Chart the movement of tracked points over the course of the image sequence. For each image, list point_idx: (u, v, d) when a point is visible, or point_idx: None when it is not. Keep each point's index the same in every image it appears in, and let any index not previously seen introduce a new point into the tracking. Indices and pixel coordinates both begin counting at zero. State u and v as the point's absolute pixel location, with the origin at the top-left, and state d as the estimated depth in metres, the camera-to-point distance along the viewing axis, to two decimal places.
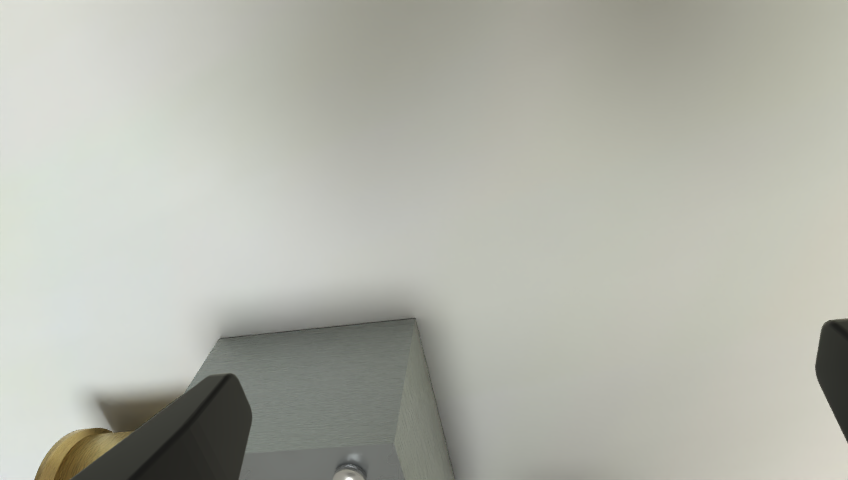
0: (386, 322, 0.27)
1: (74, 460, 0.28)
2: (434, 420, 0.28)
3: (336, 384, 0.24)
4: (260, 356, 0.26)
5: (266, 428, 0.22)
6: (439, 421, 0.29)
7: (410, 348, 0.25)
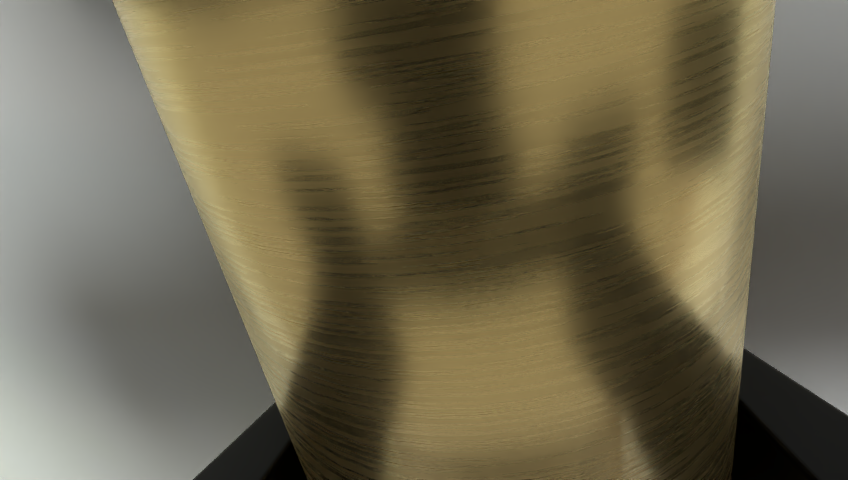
0: None
1: None
2: None
3: None
4: None
5: None
6: None
7: None
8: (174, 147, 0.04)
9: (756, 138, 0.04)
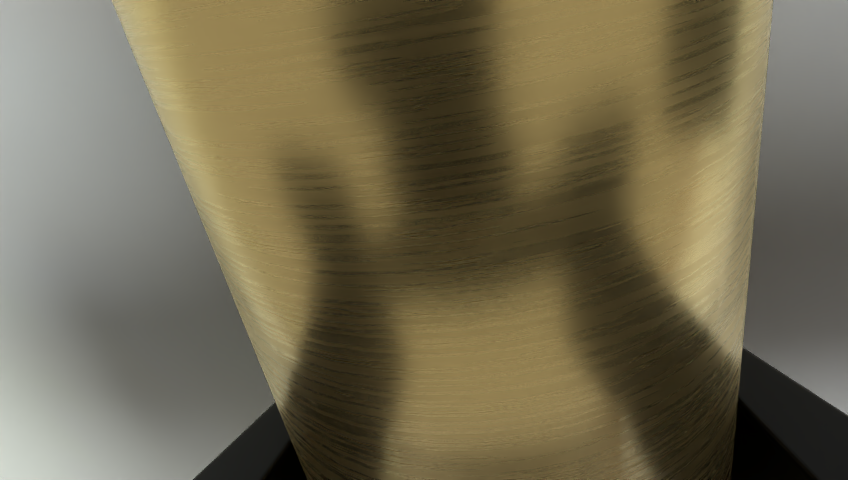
0: None
1: None
2: None
3: None
4: None
5: None
6: None
7: None
8: (173, 146, 0.04)
9: (756, 136, 0.04)
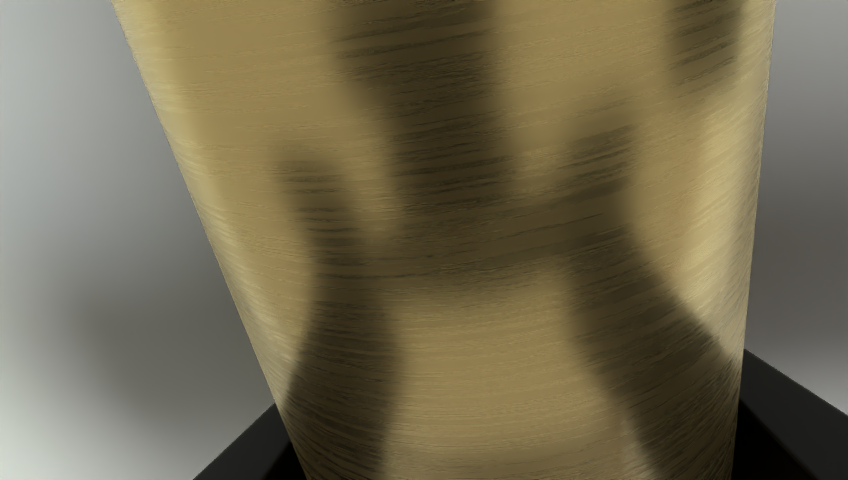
0: None
1: None
2: None
3: None
4: None
5: None
6: None
7: None
8: (173, 148, 0.04)
9: (758, 140, 0.04)
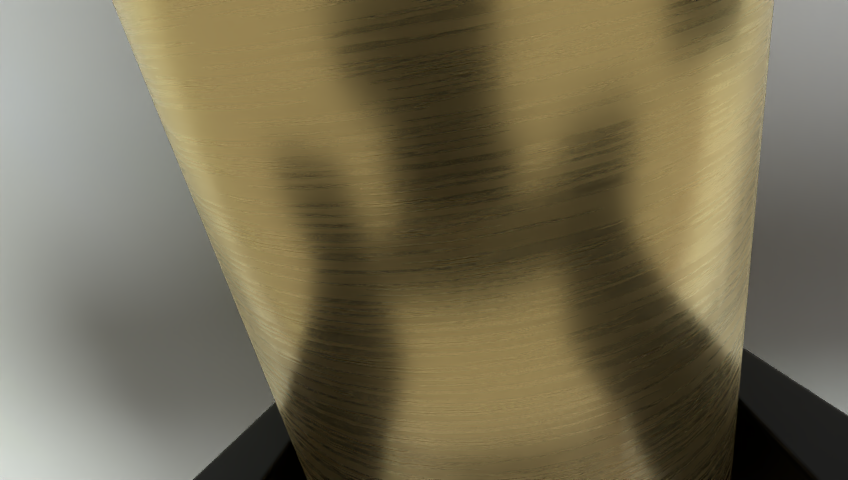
0: None
1: None
2: None
3: None
4: None
5: None
6: None
7: None
8: (173, 145, 0.04)
9: (756, 136, 0.04)
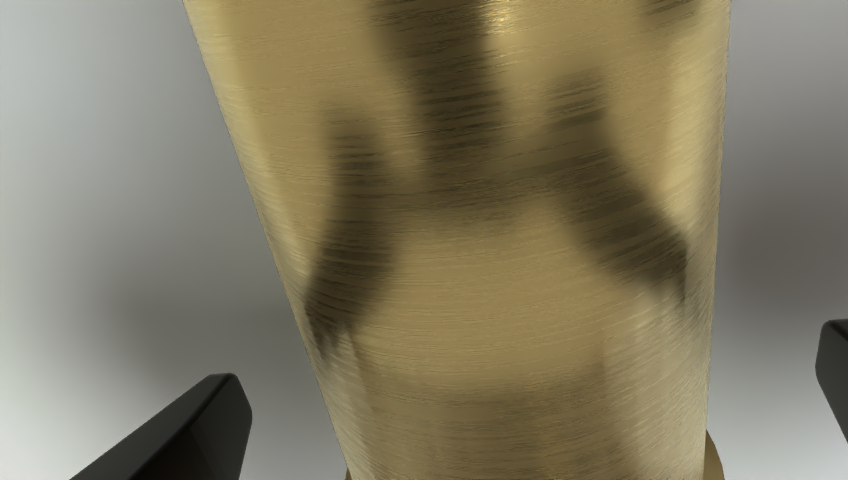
0: None
1: None
2: None
3: None
4: None
5: None
6: None
7: None
8: (222, 97, 0.05)
9: (718, 87, 0.05)
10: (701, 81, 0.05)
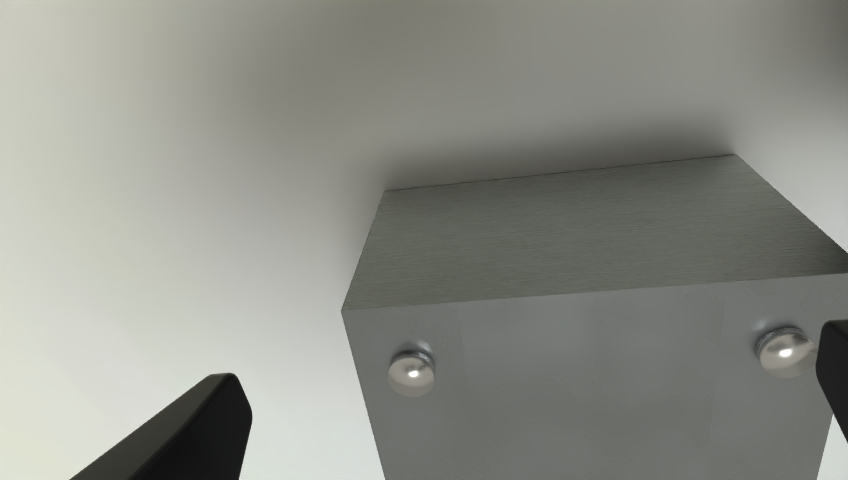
0: None
1: None
2: (537, 188, 0.19)
3: None
4: None
5: None
6: (566, 174, 0.20)
7: (377, 216, 0.19)
8: None
9: None
10: None
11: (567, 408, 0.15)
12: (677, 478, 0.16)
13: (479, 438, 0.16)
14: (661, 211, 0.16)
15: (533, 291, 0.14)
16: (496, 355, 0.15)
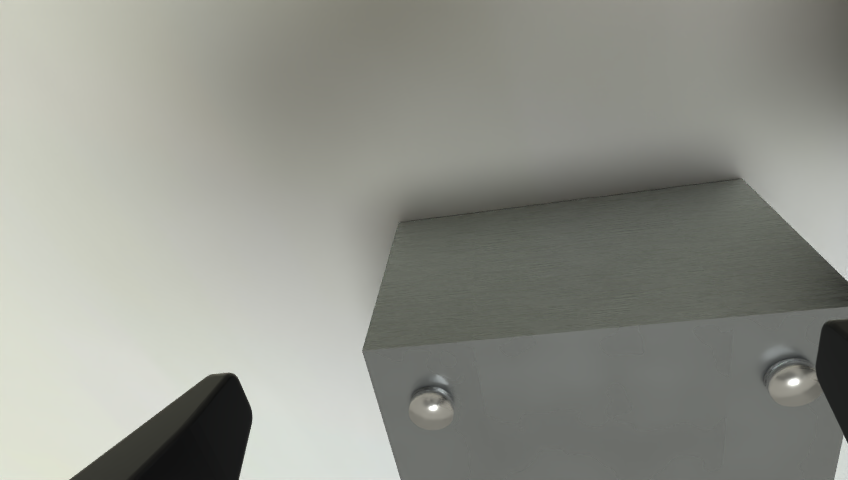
0: None
1: None
2: (547, 218, 0.20)
3: None
4: None
5: None
6: (575, 202, 0.20)
7: (392, 250, 0.20)
8: None
9: None
10: None
11: (582, 437, 0.16)
12: None
13: (498, 466, 0.17)
14: (669, 241, 0.17)
15: (546, 329, 0.14)
16: (512, 389, 0.15)
